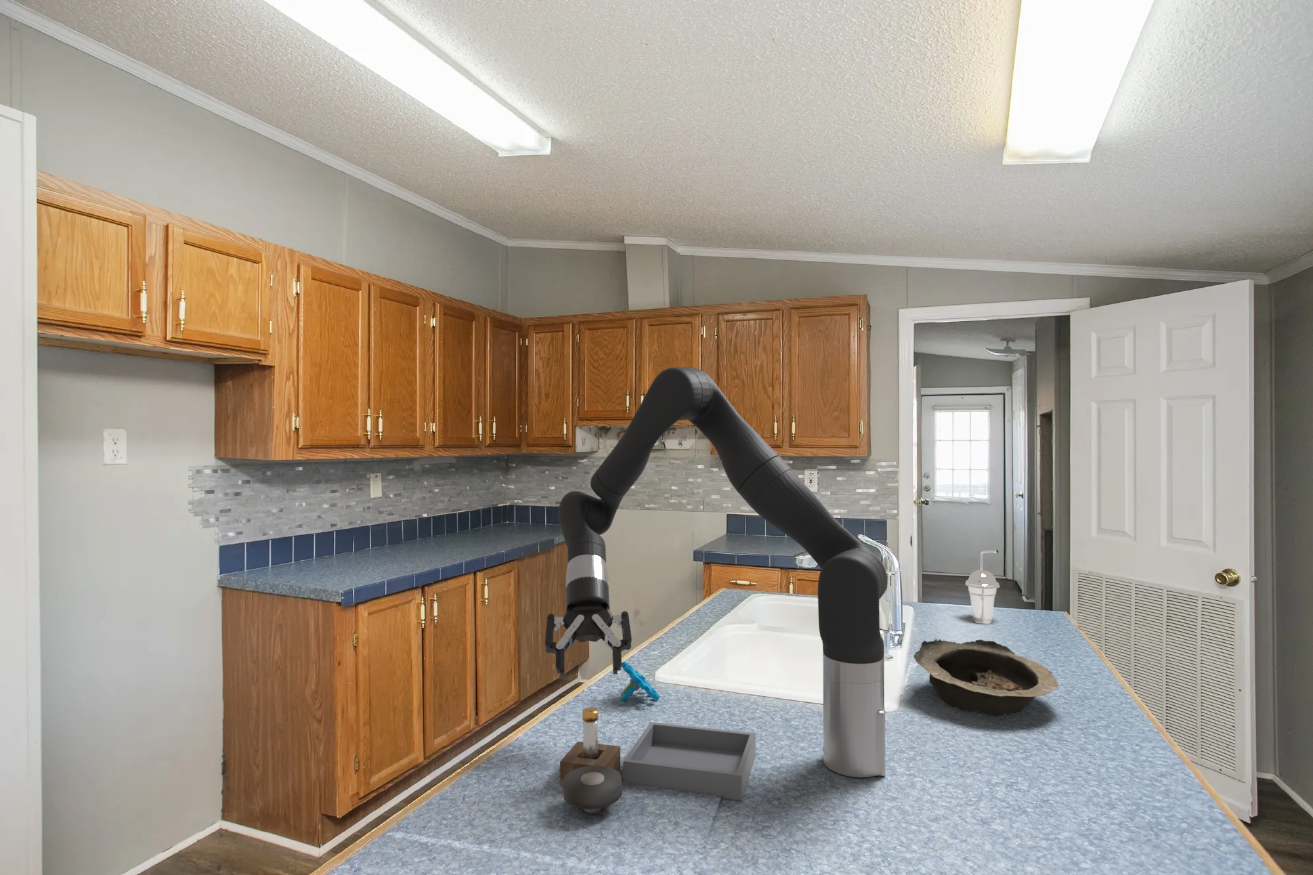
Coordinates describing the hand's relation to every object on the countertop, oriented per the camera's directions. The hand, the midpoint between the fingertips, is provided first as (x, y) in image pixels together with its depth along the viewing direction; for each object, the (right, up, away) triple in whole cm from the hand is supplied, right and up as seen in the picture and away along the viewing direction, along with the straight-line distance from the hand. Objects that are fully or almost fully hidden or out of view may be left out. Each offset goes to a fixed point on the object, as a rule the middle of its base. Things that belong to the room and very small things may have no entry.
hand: (589, 673), depth 116 cm
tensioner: (+2, -13, -13) cm, 19 cm away
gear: (+8, -13, +25) cm, 29 cm away
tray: (+16, -13, -5) cm, 22 cm away
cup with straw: (+98, -12, +77) cm, 126 cm away
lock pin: (+1, -13, -8) cm, 15 cm away
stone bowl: (+74, -13, +22) cm, 78 cm away
